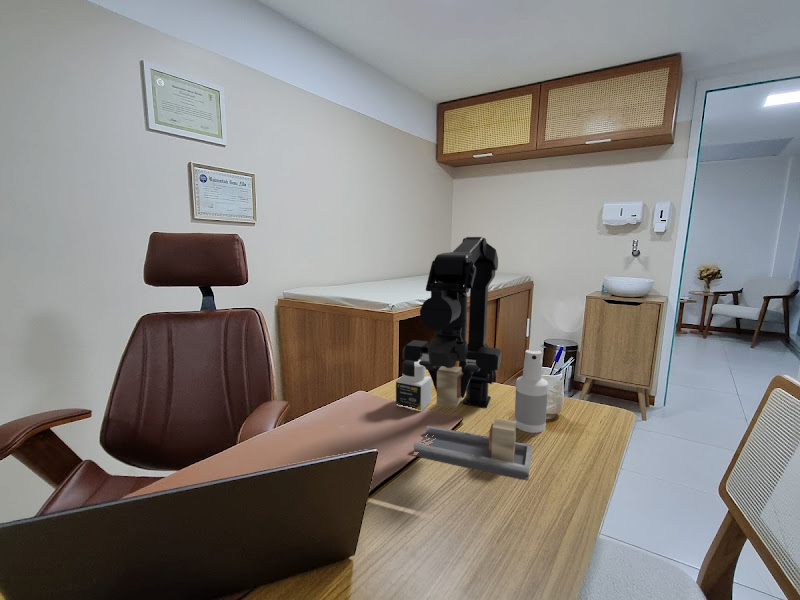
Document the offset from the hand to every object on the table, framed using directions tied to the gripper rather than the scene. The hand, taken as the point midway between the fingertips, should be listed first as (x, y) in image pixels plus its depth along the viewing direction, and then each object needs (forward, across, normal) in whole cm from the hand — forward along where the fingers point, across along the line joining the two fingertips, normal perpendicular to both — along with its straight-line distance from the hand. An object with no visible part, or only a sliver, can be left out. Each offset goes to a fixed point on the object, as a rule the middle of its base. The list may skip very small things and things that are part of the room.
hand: (450, 395), depth 77 cm
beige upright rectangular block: (+11, +11, 0) cm, 15 cm away
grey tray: (+12, +5, 0) cm, 13 cm away
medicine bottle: (+12, -14, +18) cm, 26 cm away
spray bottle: (+12, +15, +16) cm, 25 cm away
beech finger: (+2, 0, 0) cm, 2 cm away
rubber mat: (+12, +5, 0) cm, 13 cm away
